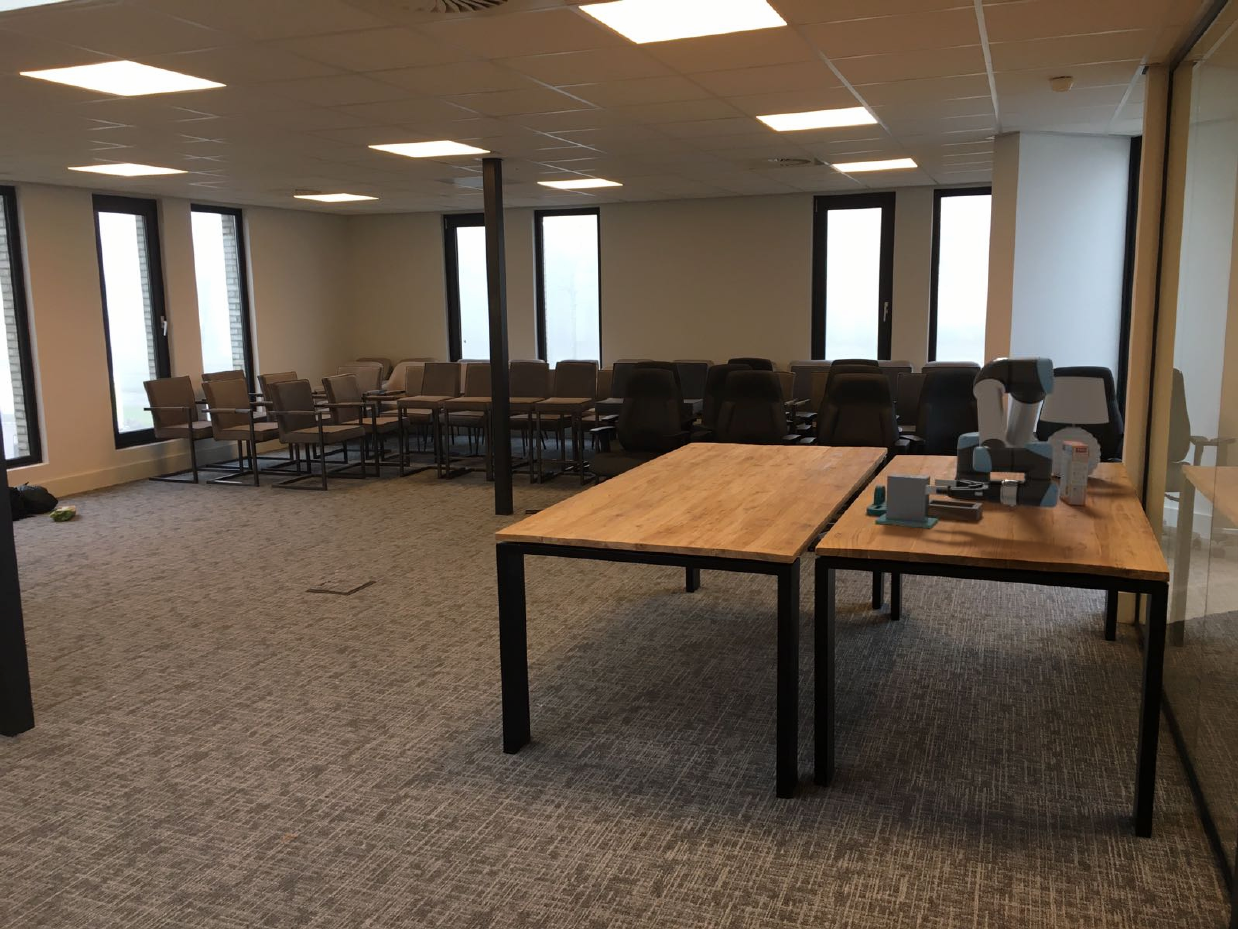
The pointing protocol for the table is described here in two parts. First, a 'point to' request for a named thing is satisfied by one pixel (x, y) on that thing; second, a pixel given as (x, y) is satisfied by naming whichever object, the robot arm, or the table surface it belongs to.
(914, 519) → the dark grey block
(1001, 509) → the table surface
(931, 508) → the slotted block
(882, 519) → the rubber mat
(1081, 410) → the table lamp
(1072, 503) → the cracker box
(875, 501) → the bracket
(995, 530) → the table surface
